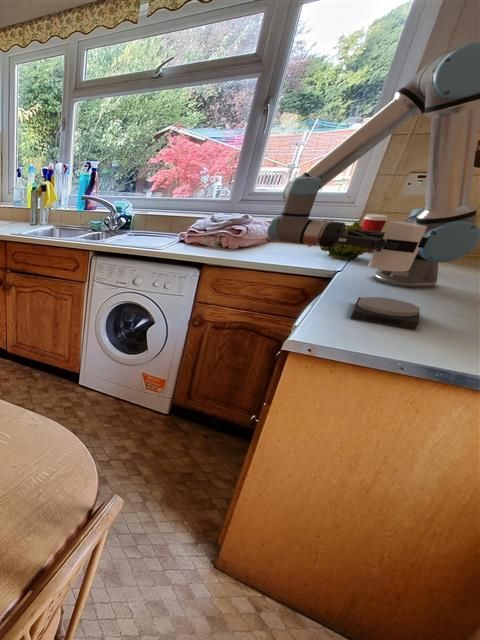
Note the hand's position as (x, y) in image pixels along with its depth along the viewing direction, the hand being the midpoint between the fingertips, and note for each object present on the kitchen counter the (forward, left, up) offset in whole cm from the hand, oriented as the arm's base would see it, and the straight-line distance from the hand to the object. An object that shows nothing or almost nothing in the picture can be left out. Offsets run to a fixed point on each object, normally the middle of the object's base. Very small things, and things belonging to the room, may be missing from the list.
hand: (421, 245), depth 118 cm
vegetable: (-59, -17, -17) cm, 63 cm away
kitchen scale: (+15, -1, -17) cm, 23 cm away
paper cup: (-79, -12, -17) cm, 81 cm away
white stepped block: (-1, -4, -7) cm, 9 cm away
